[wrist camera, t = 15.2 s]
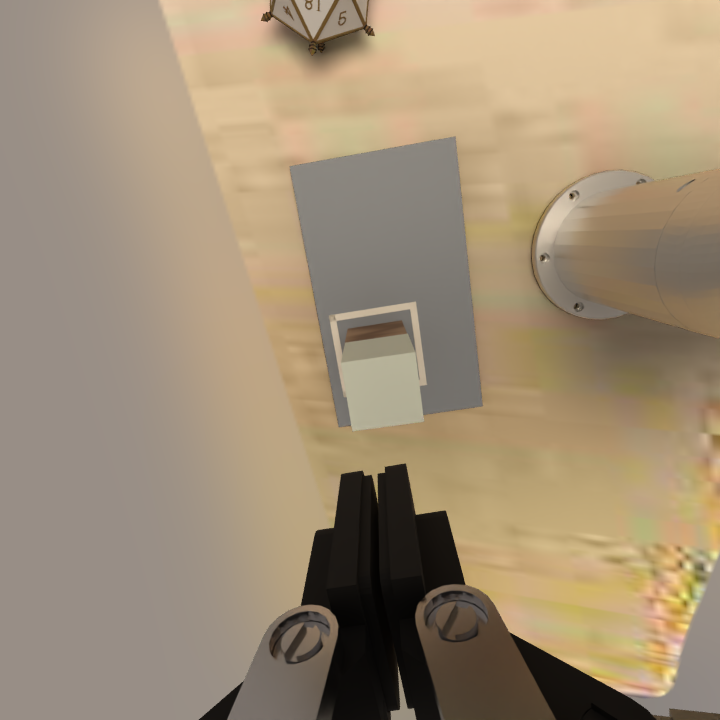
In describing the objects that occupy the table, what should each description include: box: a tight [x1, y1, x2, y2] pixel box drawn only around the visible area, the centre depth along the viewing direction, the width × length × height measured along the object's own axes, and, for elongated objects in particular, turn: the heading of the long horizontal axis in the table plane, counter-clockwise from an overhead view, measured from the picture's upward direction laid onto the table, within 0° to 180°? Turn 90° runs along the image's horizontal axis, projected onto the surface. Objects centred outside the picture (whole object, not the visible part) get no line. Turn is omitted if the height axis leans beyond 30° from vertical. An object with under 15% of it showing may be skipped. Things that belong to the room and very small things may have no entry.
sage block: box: [341, 334, 424, 431], centre depth 34 cm, size 5×5×6 cm
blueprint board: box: [290, 137, 483, 427], centre depth 42 cm, size 14×24×1 cm, turn 9°
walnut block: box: [345, 320, 407, 343], centre depth 40 cm, size 5×5×6 cm
